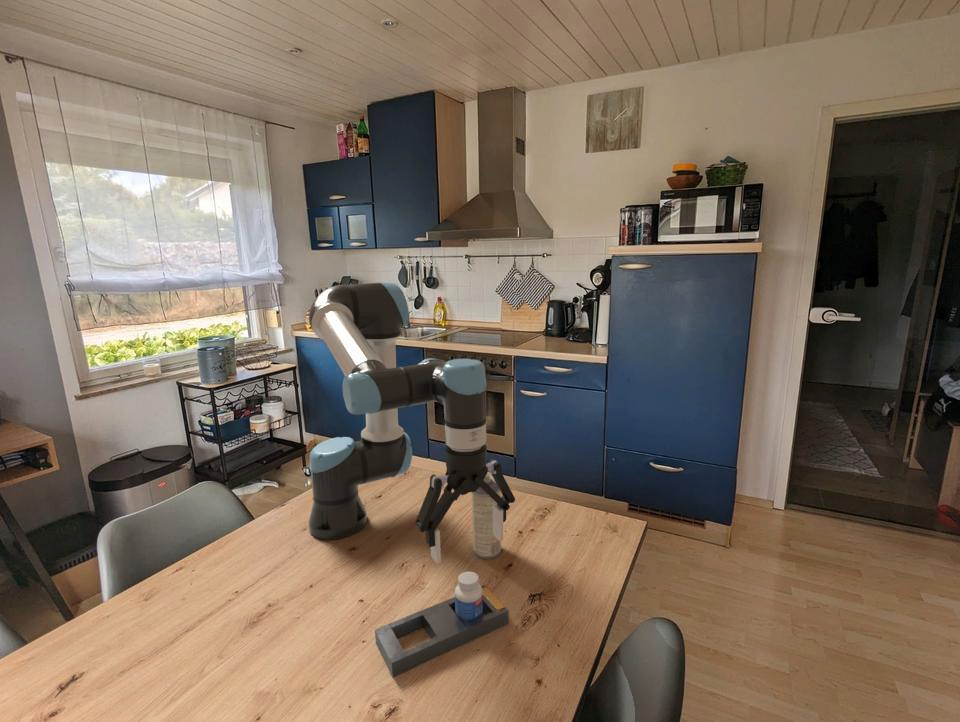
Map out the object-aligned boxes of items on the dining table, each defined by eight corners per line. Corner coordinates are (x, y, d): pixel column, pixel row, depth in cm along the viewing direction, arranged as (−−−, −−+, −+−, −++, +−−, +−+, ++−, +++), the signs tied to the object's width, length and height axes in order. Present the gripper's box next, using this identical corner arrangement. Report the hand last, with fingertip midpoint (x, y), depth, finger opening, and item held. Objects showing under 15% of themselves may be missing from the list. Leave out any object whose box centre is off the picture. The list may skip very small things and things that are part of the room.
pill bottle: (480, 633, 93) (479, 588, 91) (453, 630, 94) (451, 585, 92) (485, 613, 99) (484, 570, 97) (459, 610, 100) (457, 568, 98)
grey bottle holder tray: (375, 643, 92) (374, 628, 91) (485, 597, 103) (484, 583, 103) (392, 677, 84) (391, 662, 83) (508, 623, 96) (508, 609, 95)
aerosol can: (504, 545, 122) (503, 471, 117) (496, 561, 115) (494, 483, 111) (478, 540, 124) (476, 467, 120) (469, 556, 118) (467, 479, 113)
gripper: (410, 468, 79) (415, 581, 84) (533, 437, 92) (532, 537, 96) (393, 452, 86) (399, 558, 91) (511, 425, 98) (511, 520, 103)
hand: (468, 548), depth 94 cm, fingers open, 13 cm apart
